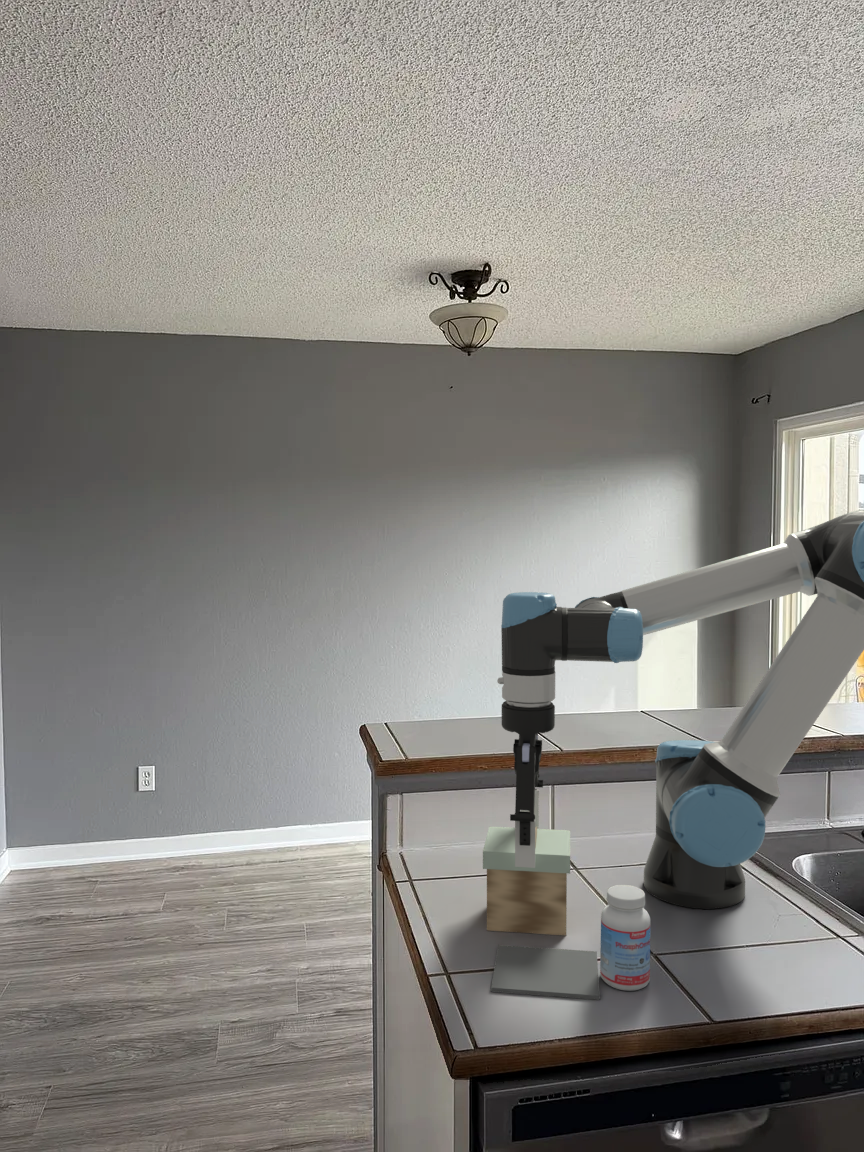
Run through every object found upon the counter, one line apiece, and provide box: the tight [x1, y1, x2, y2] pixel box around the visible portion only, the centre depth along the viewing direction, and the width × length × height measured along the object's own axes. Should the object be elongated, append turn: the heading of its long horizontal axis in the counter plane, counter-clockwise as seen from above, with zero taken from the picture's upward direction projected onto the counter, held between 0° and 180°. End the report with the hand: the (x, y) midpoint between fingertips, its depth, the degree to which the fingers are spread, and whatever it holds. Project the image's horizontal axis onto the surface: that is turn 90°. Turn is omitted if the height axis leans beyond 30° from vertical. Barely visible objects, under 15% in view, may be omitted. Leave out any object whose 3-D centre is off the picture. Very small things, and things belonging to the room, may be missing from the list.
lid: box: [482, 826, 571, 875], centre depth 127 cm, size 12×10×4 cm
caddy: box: [486, 869, 568, 936], centre depth 127 cm, size 11×9×9 cm
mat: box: [490, 944, 601, 1001], centre depth 112 cm, size 13×11×1 cm
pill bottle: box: [599, 884, 651, 992], centre depth 110 cm, size 6×6×11 cm
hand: (527, 848), depth 127 cm, fingers open, 13 cm apart
